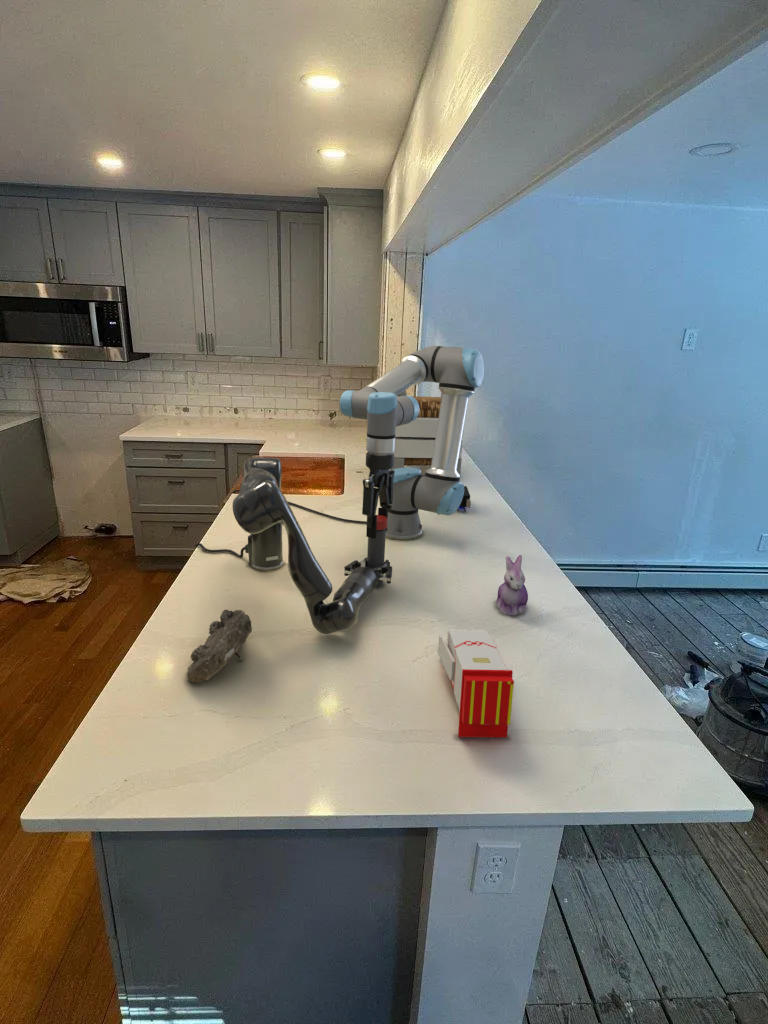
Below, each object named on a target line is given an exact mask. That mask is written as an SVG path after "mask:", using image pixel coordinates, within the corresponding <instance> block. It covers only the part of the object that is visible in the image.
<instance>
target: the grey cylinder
mask: <svg viewBox="0 0 768 1024" xmlns="http://www.w3.org/2000/svg"><path fill="white" fill-rule="evenodd" d="M385 536H386V529H383V530H377V532H376V538H375V539H374V538H370V537H367V556H366V558H367V567H370V568H374V567H376V566H378V565H379V566H381V565H383V563H384V562H385V558H386V557H385V554H386V537H385ZM384 575H385V574H384ZM384 575H383V576H384ZM383 586H384V581H381V582H379V583H377V585H376V587H375V589H380V588H382V587H383Z"/></svg>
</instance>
